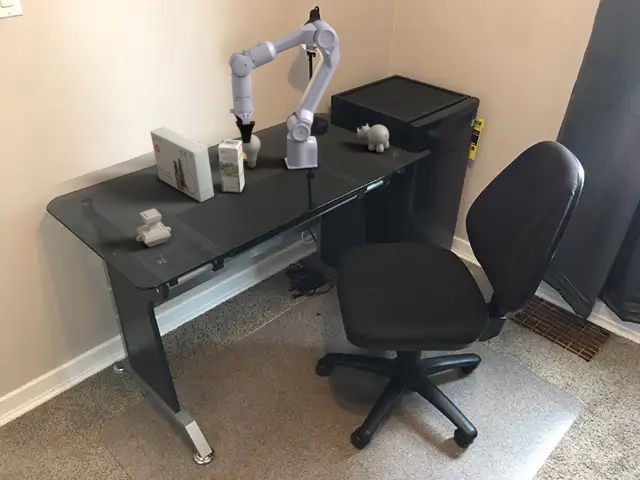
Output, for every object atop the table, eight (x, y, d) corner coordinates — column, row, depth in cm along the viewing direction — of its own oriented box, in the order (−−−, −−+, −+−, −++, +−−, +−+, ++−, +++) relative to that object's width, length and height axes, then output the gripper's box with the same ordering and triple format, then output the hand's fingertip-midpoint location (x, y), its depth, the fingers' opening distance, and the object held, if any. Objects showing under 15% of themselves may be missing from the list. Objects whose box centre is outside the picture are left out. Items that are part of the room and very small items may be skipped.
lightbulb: (246, 173, 177) (244, 140, 171) (239, 165, 181) (237, 133, 175) (264, 169, 179) (263, 137, 173) (257, 162, 184) (255, 130, 178)
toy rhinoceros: (363, 139, 200) (364, 116, 195) (392, 148, 194) (394, 124, 189) (351, 146, 195) (352, 122, 190) (380, 155, 189) (382, 131, 184)
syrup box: (245, 184, 170) (242, 139, 163) (240, 193, 166) (237, 147, 158) (226, 183, 171) (222, 138, 163) (221, 192, 166) (217, 146, 158)
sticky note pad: (241, 151, 190) (240, 149, 189) (249, 160, 184) (249, 157, 184) (219, 156, 187) (219, 153, 187) (227, 165, 181) (226, 162, 181)
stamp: (167, 230, 148) (162, 202, 144) (176, 242, 144) (172, 213, 139) (133, 240, 144) (127, 212, 139) (142, 253, 139) (136, 224, 135)
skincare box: (157, 179, 172) (149, 130, 164) (172, 174, 176) (165, 125, 167) (199, 203, 160) (193, 151, 152) (214, 196, 164) (209, 145, 155)
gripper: (226, 87, 172) (230, 130, 179) (230, 104, 160) (234, 148, 168) (250, 86, 173) (252, 128, 181) (255, 102, 161) (258, 146, 169)
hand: (245, 138), depth 174 cm, fingers open, 7 cm apart
